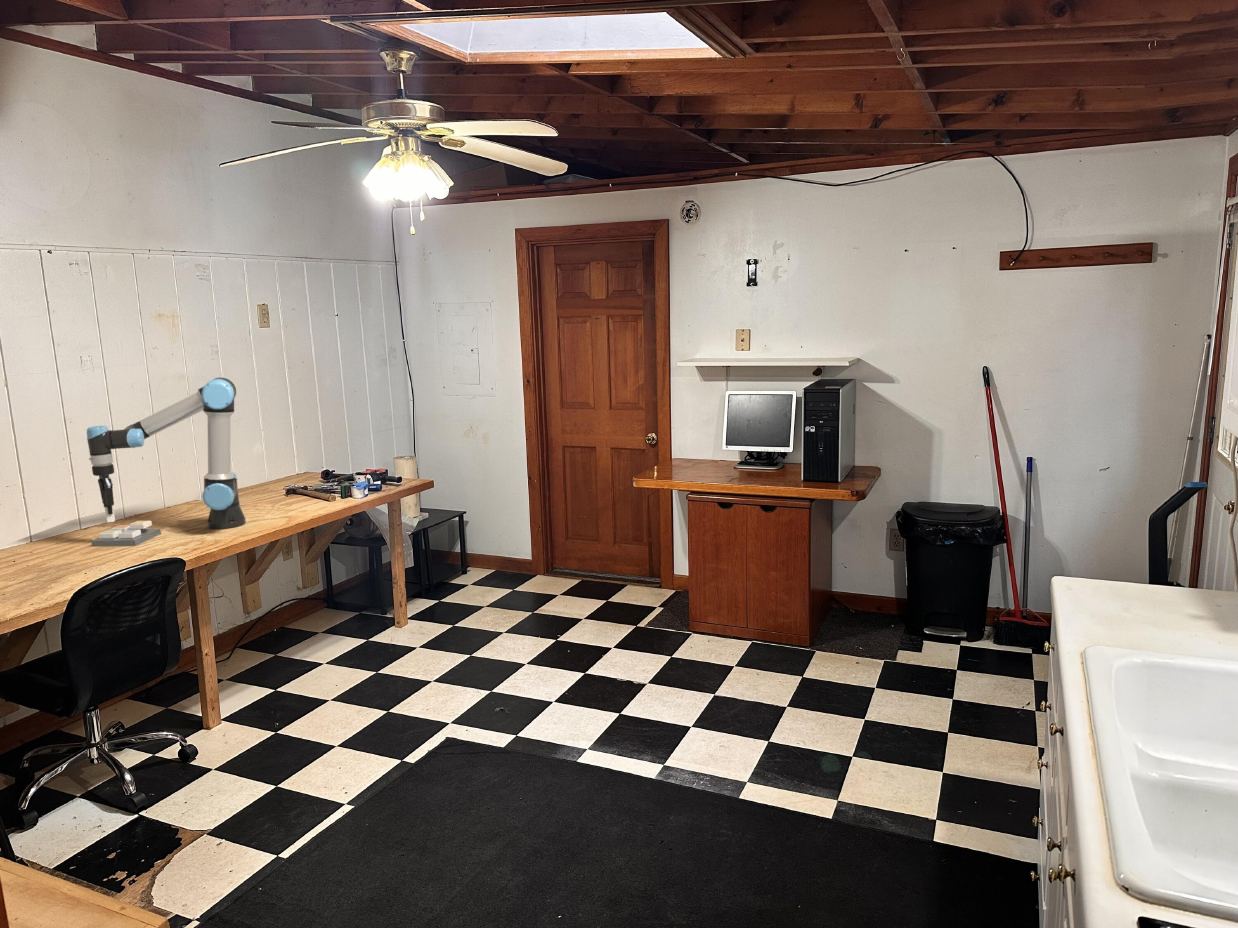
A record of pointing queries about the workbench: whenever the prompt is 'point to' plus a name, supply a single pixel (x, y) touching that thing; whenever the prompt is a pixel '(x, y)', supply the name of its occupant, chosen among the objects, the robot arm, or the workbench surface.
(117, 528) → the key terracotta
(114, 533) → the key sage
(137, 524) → the cream key cap
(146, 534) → the keypad board
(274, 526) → the workbench surface
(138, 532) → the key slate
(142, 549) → the workbench surface
